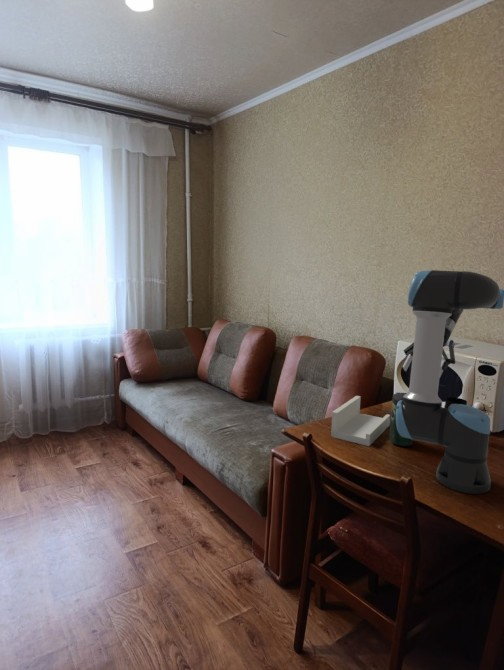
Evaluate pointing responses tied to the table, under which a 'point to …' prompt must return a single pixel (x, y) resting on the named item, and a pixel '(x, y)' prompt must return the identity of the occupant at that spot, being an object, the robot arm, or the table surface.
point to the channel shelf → (357, 423)
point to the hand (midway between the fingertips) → (420, 372)
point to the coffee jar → (394, 434)
